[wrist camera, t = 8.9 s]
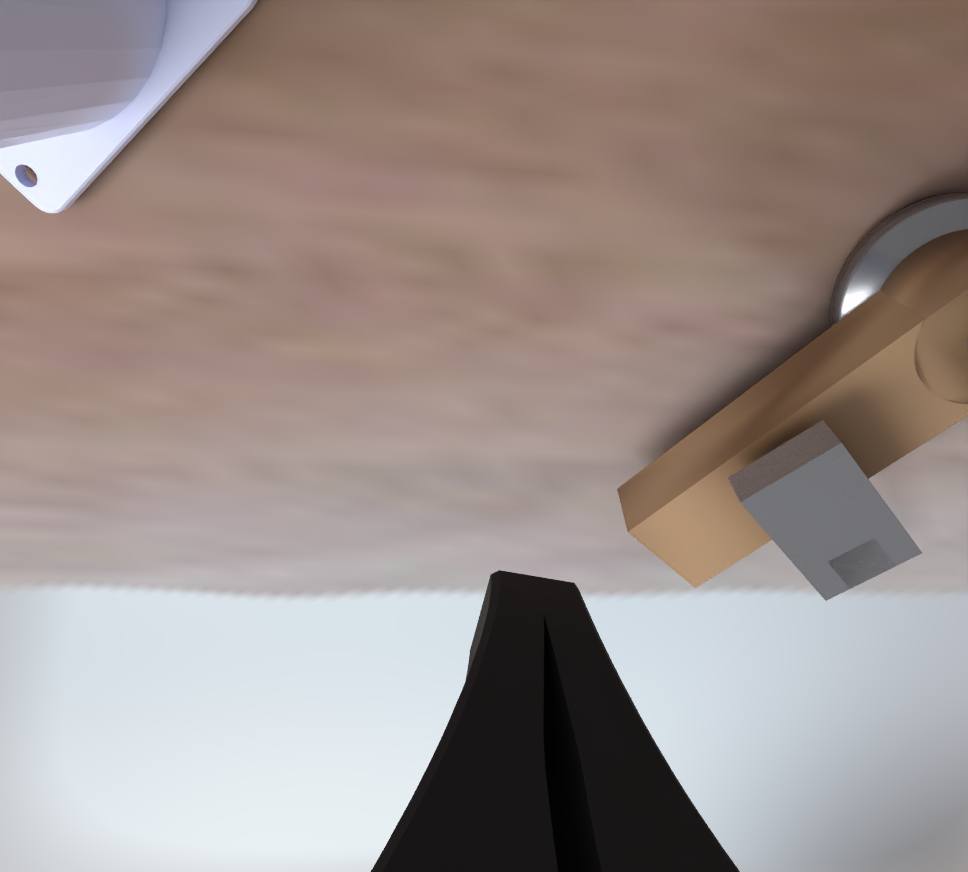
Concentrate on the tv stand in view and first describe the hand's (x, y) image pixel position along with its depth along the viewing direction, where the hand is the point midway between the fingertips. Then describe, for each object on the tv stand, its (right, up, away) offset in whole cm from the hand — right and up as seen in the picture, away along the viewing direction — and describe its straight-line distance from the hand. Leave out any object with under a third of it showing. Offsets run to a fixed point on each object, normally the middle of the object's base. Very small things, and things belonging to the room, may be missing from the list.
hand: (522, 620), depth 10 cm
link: (+8, +4, +7) cm, 12 cm away
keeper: (+8, +3, +9) cm, 12 cm away
